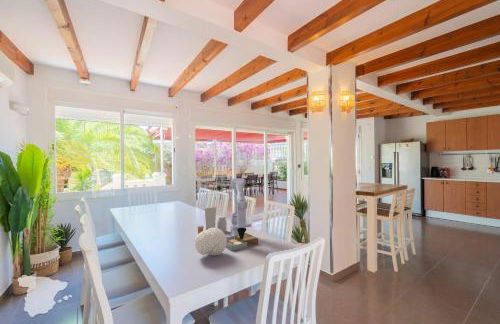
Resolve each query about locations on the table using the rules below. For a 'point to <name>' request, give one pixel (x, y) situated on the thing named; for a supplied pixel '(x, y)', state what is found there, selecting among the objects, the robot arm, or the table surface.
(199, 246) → the cauliflower
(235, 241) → the tile
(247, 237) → the board
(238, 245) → the tray
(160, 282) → the table surface
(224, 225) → the toiletry set
